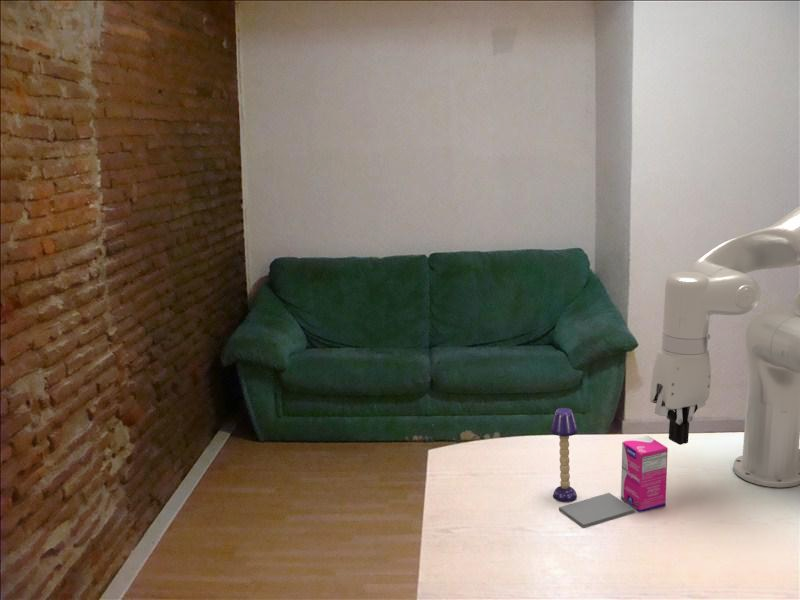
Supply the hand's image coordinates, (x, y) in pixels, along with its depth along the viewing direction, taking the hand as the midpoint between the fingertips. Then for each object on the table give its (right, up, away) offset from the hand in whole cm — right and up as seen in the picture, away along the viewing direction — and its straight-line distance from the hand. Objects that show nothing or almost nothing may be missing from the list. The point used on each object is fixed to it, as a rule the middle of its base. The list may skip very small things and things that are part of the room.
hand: (678, 441), depth 156 cm
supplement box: (-6, -11, -1) cm, 13 cm away
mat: (-15, -12, -3) cm, 19 cm away
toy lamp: (-20, -11, +3) cm, 23 cm away
